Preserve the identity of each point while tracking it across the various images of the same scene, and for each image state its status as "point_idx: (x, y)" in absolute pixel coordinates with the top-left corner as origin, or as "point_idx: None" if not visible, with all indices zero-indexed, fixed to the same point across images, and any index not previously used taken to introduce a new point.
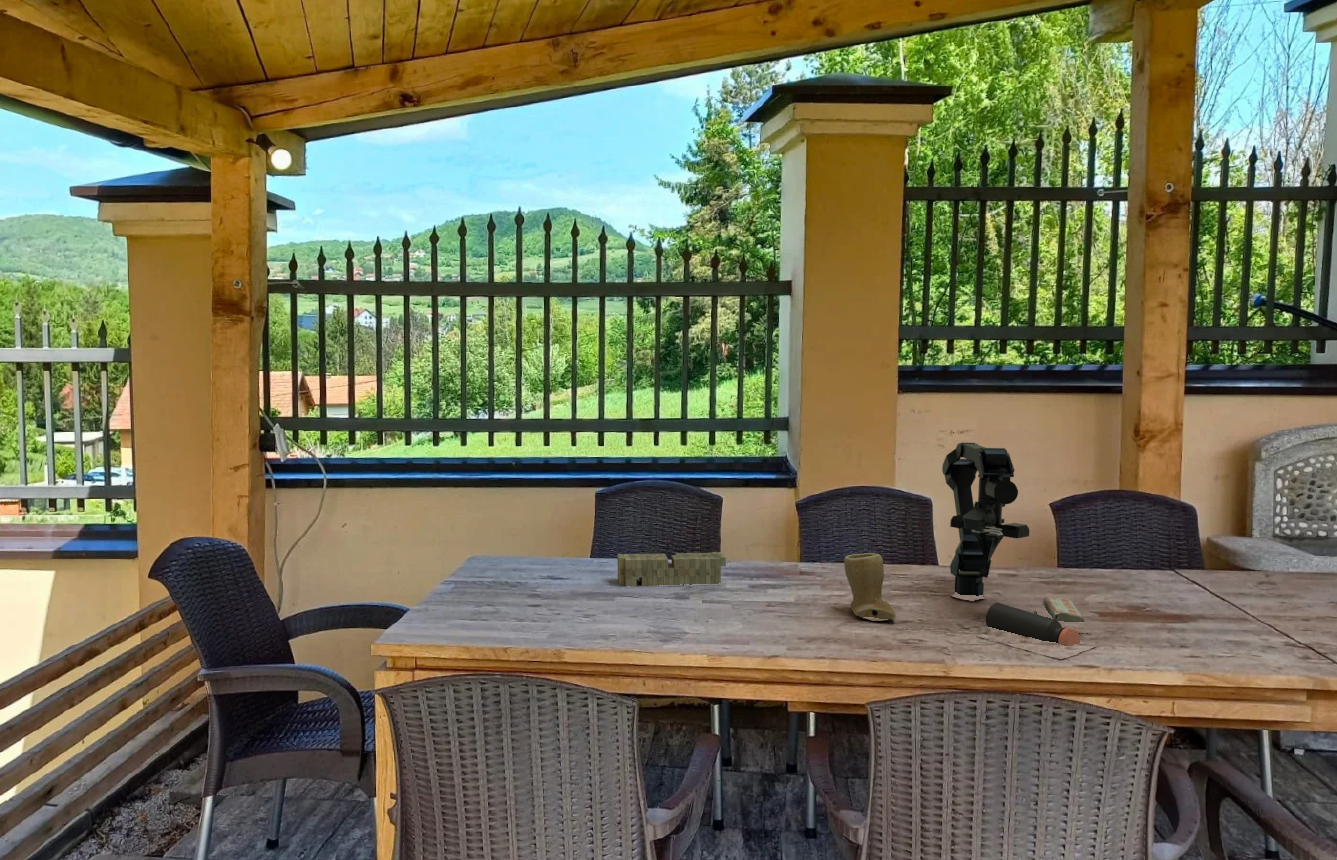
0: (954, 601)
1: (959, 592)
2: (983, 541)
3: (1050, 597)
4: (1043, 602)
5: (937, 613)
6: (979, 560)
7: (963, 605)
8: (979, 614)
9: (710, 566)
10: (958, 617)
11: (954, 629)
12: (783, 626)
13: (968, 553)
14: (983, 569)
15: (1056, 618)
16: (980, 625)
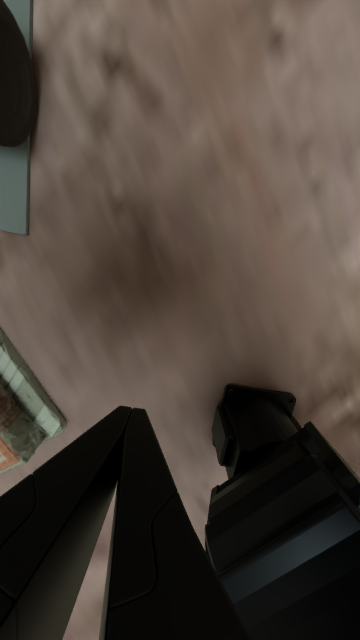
0: (270, 365)
1: (275, 405)
2: (110, 593)
3: (1, 462)
4: (32, 446)
5: (261, 188)
6: (246, 518)
7: (233, 342)
8: (158, 281)
9: None
10: (190, 193)
11: (135, 11)
12: None
13: (321, 529)
14: (221, 491)
15: None
16: (98, 149)
